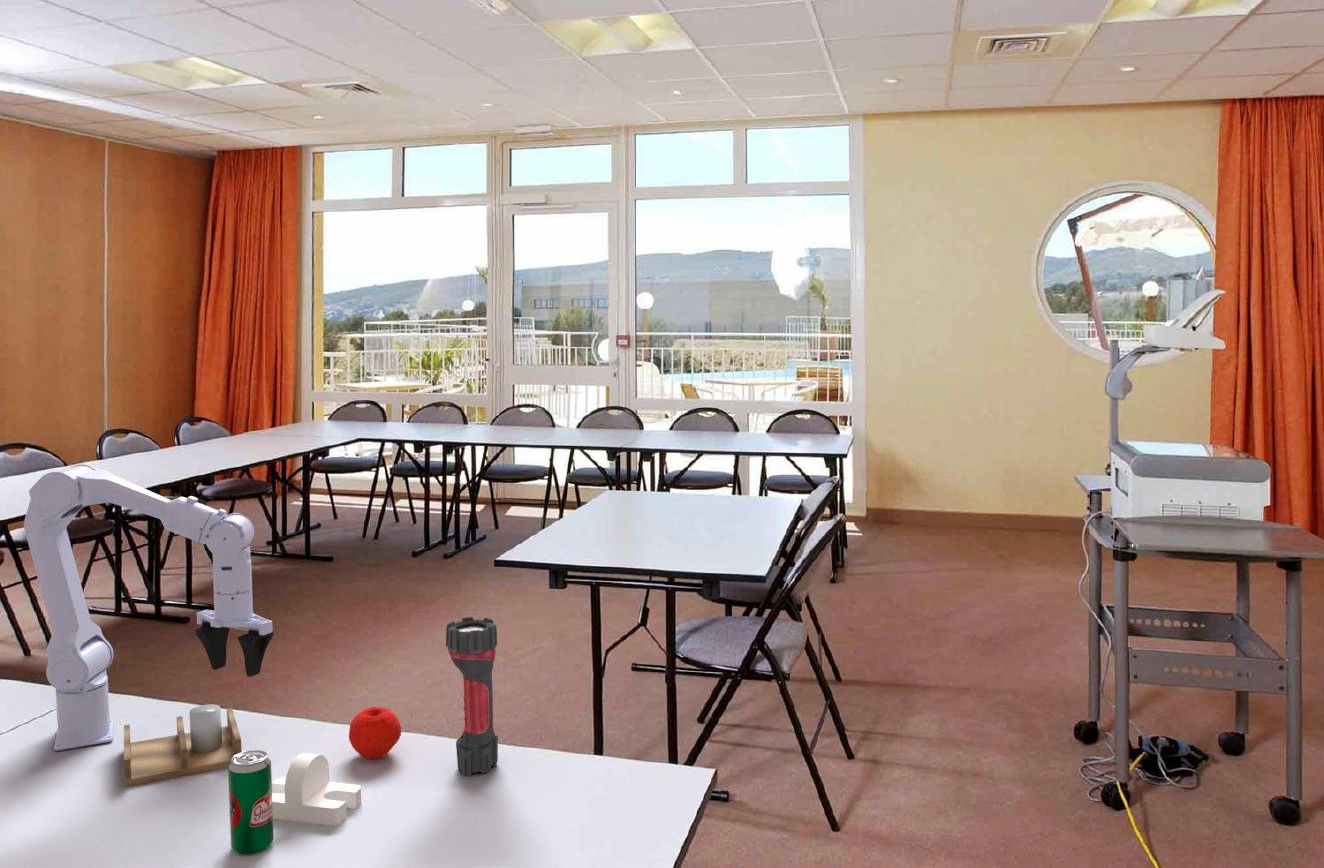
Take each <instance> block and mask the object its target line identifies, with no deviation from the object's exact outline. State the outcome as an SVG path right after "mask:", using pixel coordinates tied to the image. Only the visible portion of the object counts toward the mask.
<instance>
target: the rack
mask: <svg viewBox="0 0 1324 868" xmlns="http://www.w3.org/2000/svg"><path fill="white" fill-rule="evenodd" d="M226 720H227V721H226V722H227V725H226V726H221V730H222V746H221V747H220V748H218V749H216V750H214V751H210V752H205V753H196V752H193V751H192V750H191V736H190V732H185V726H184V720H183V715H180V716H176V731H177V732H176V733H177V734H175V735H174V734H173V735H169V736H163V737H157V738H151V739H146V740H145V739H144V740H140V741H133V742H131V727H130V726H131V724H125V725H123V768H124V784H125V787H132V786H137V785H142V784H146V783H152V782H157V781H162V780H169V779H175V778H178V777H184V776H191V775H195V774H199V773H204V772H210V771H214V770H221V769H226V768H228V767H229V765H230V764H231V759H232V757H233V756H235V755H237V754H239V753H241V752H243V751H242V738H241V734H240V730H239V728H238V724H237V721H236V720H237V719H236V716H235V713H234V709H233V707H229V708H226Z"/></svg>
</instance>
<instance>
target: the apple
mask: <svg viewBox="0 0 1324 868" xmlns="http://www.w3.org/2000/svg"><path fill="white" fill-rule="evenodd" d="M348 732H349V733H348V739H349V743H350V745H351V747H352V748H353V749H354V750H355V752H357V753H358V755H360V757H362V758H365V759H368V760H377V759H380V758H383V757H385V756H386V755H387V754H388V753H389V752H390V751H391V750H392V748H394V747H395V746H396V744H397V743H398V741H399V740H400V738H401V736H402V725H401V722H400V720H399V718H398V716H396V714H395V713H394V712H393V711H392V710H390V709H387V708H384V707H379V706H377V707H376V706H373V707H368V708H366V709H363V710H361V711H359V712H358V713H357V714H356V715H355V716H354V717H353V719H352V721H351V722H350V723H349V731H348Z"/></svg>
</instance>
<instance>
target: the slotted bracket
mask: <svg viewBox="0 0 1324 868" xmlns="http://www.w3.org/2000/svg"><path fill="white" fill-rule="evenodd" d="M330 780H331V779H330V765H329V761H328V759H327V758H326V756H325V755H323V754H318V753H317V754H316V753H307V752H304V753H303V752H302V753H300V754H298V755H297V756H296V757H295V758H294V759H293V761H292V762H291V763H290V765H289V768H288V770H287V773H286V776H281V777H278V778H275V780H272V803H273V820H274V819H276V820H284V821H292V822H298V823H299V822H302V823H309V824H318V825H327V826H338V825H341V824H342V823H343V822H344V821H345V820H346V819H347V809H351V810H352V809H353V810H357V808H359V807H360V806H361V805H362V786H361V785H359V784H352V783H342V782H334V781H330Z"/></svg>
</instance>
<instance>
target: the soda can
mask: <svg viewBox="0 0 1324 868" xmlns="http://www.w3.org/2000/svg"><path fill="white" fill-rule="evenodd" d="M268 756H269V754H268V753H267V751H264V750H261V749H255V750H254V749H252V750H246V751H242V752H241V753H239V754H237V755H235V756H233V757H232V759H231V764H230V765H229V767H227V778H228V779H227V780H228V801H229V802H228V805H229V807H228V808H229V825H230V826H229V829H230V831H229V832H230V847H231V850H233V851H234V853H236V854H239V855H241V856H246V855H247V856H249V855H256V854H259V853H261V852H263V851H265V850H267V849H268V848H269V847H270V846H271V844H272V843H273V842H274V839H275V837H274V818H273V803H272V782H273V779H272V776H273V775H272V761H271V759H270V758H269V757H268Z"/></svg>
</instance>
